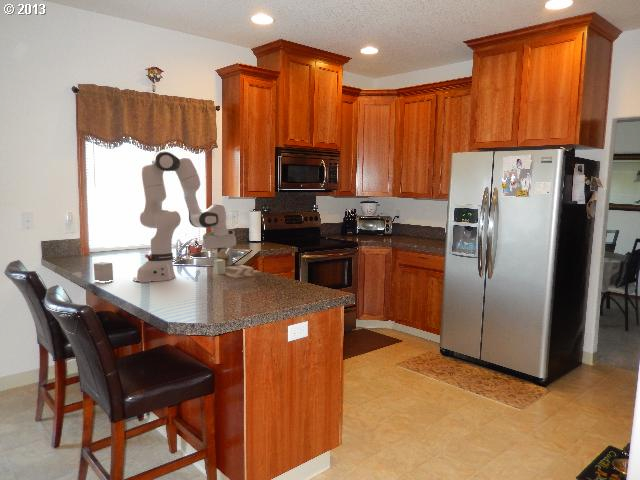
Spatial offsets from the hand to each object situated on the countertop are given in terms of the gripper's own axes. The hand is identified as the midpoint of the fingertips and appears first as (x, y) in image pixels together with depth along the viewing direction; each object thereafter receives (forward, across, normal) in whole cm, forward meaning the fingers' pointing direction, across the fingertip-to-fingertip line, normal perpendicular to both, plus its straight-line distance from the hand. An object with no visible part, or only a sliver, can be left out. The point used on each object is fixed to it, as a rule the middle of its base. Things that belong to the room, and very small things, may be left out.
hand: (220, 255), depth 280 cm
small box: (+10, -62, +14) cm, 64 cm away
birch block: (+11, +5, -13) cm, 18 cm away
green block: (+11, -1, 0) cm, 11 cm away
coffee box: (+12, +17, +27) cm, 34 cm away
